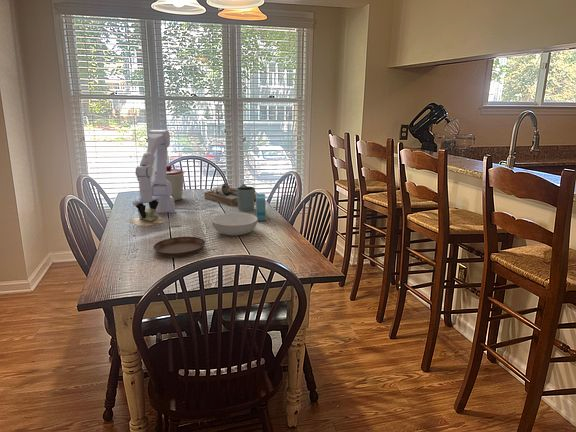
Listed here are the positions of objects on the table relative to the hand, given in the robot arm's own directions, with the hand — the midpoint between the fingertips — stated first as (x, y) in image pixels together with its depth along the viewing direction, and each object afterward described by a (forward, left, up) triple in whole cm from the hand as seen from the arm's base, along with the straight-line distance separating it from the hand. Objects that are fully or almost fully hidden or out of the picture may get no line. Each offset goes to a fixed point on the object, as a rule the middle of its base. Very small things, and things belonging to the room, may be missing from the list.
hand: (148, 216), depth 216 cm
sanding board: (+1, 0, -3) cm, 3 cm away
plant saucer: (+11, +46, -4) cm, 47 cm away
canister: (-34, -37, -3) cm, 51 cm away
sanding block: (-1, -1, -1) cm, 2 cm away
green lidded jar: (-51, +14, -3) cm, 53 cm away
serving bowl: (-20, +43, -4) cm, 48 cm away
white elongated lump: (-61, -10, -4) cm, 62 cm away
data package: (-44, +34, -4) cm, 56 cm away
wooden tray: (-59, -11, -3) cm, 61 cm away
